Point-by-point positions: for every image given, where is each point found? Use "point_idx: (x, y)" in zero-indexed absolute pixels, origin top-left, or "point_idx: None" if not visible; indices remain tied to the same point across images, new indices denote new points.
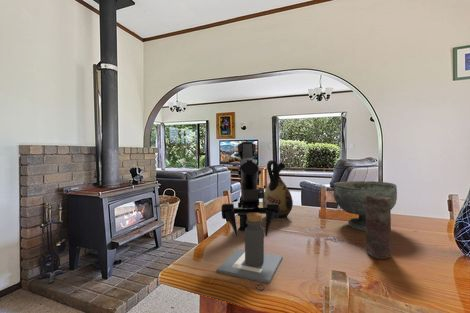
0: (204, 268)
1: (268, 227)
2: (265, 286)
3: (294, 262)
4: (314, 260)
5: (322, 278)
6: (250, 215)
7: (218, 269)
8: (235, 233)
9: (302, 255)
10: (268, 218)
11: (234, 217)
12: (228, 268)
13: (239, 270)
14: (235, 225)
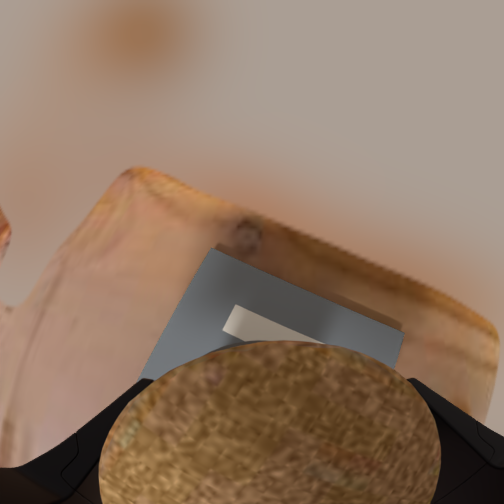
0: (435, 355)
1: (101, 413)
2: (229, 239)
3: (80, 389)
4: (24, 381)
5: (49, 269)
6: (385, 425)
7: (398, 331)
8: (419, 383)
9: (45, 429)
10: (51, 477)
11: (499, 464)
12: (365, 340)
13: (321, 325)
14: (453, 421)
